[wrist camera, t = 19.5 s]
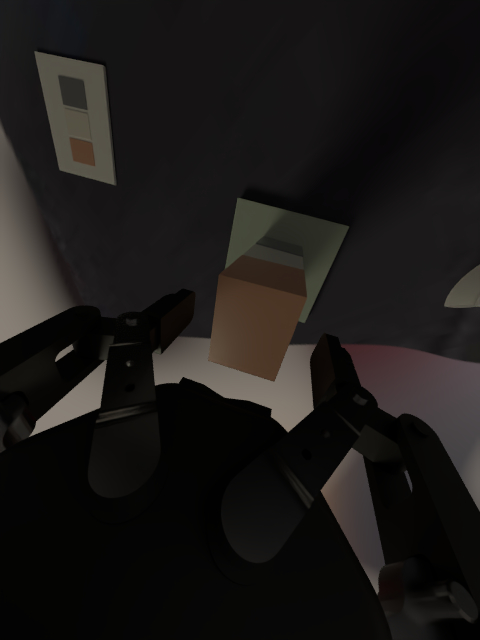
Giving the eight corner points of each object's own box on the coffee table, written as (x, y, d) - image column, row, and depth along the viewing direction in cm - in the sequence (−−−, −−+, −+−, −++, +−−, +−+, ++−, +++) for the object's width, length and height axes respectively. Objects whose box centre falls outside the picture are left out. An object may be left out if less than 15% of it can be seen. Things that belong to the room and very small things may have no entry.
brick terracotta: (242, 254, 14) (219, 274, 10) (304, 270, 14) (307, 297, 10) (229, 323, 18) (208, 360, 13) (280, 338, 17) (274, 381, 13)
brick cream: (255, 243, 19) (242, 254, 14) (302, 257, 18) (304, 272, 14) (241, 300, 22) (227, 322, 18) (281, 312, 21) (277, 338, 17)
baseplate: (240, 198, 23) (223, 195, 17) (346, 225, 21) (362, 231, 16) (222, 293, 29) (206, 312, 24) (304, 318, 28) (305, 344, 22)
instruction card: (37, 53, 21) (33, 50, 20) (105, 67, 20) (102, 64, 20) (62, 170, 26) (58, 170, 26) (116, 185, 25) (114, 184, 25)
